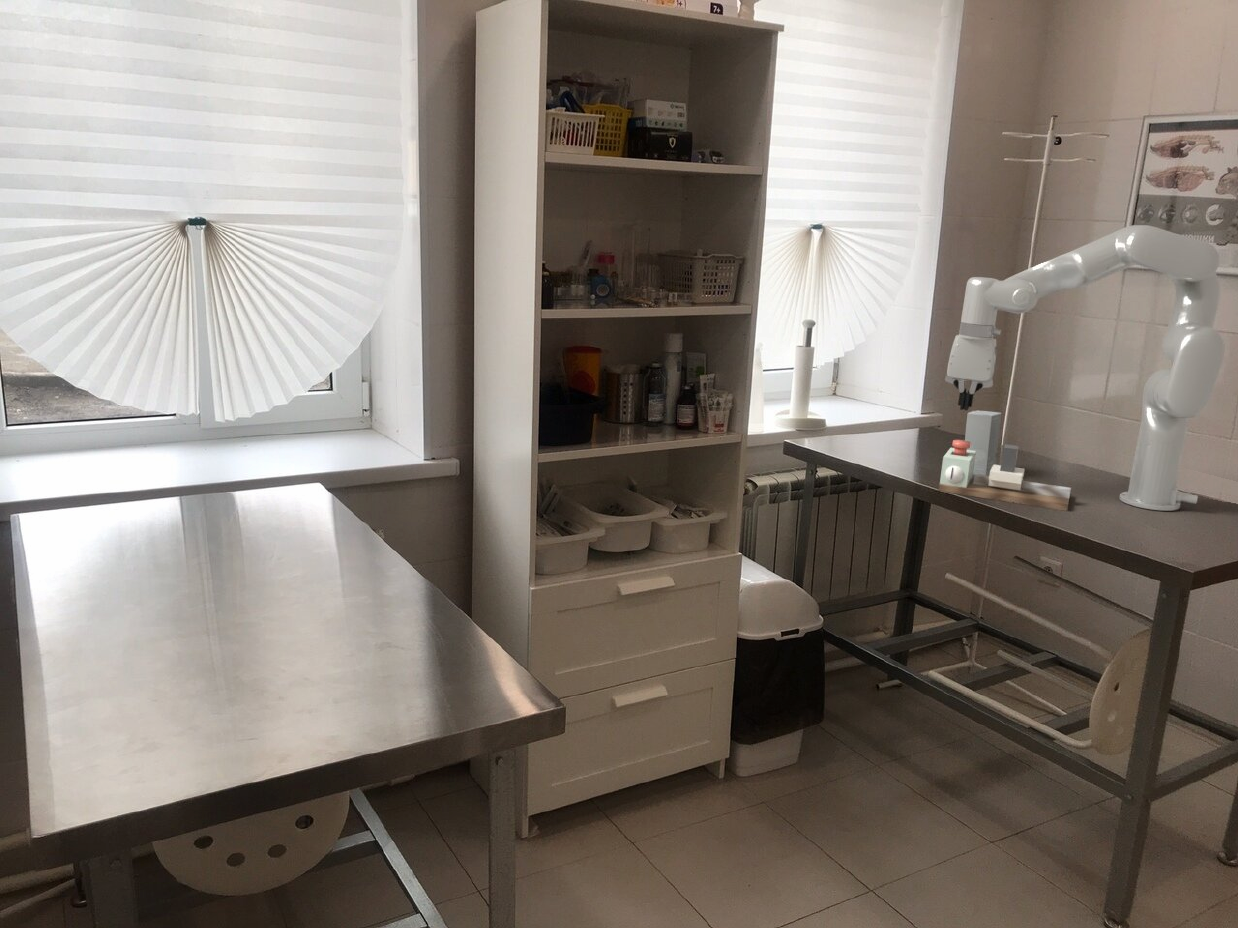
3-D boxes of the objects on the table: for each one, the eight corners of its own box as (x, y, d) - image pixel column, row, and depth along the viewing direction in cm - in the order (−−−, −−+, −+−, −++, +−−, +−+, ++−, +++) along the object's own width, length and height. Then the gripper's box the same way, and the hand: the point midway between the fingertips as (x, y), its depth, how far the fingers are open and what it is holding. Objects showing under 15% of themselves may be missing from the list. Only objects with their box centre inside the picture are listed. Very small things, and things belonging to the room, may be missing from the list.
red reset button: (969, 454, 237) (971, 441, 236) (967, 457, 234) (969, 444, 233) (952, 451, 239) (954, 439, 238) (950, 455, 235) (951, 442, 235)
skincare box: (986, 478, 247) (995, 416, 244) (957, 472, 252) (966, 411, 248) (996, 472, 254) (1005, 412, 250) (968, 467, 258) (977, 407, 254)
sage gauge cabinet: (972, 476, 242) (976, 451, 240) (965, 488, 231) (969, 461, 229) (947, 473, 244) (950, 447, 243) (939, 484, 233) (943, 457, 232)
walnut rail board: (1069, 496, 234) (1071, 482, 233) (1067, 510, 222) (1069, 495, 221) (946, 478, 246) (948, 464, 245) (938, 490, 233) (940, 476, 232)
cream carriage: (1022, 484, 235) (1028, 445, 233) (1019, 491, 228) (1025, 452, 226) (991, 479, 238) (996, 441, 236) (987, 486, 231) (993, 447, 229)
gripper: (1012, 334, 229) (999, 411, 234) (945, 326, 235) (934, 402, 240) (1009, 336, 223) (996, 416, 227) (940, 329, 229) (929, 407, 233)
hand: (964, 409), depth 234 cm, fingers closed
